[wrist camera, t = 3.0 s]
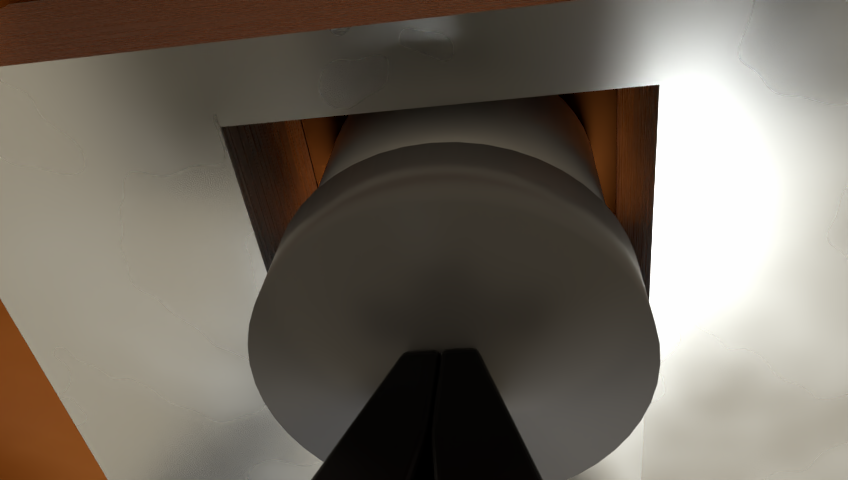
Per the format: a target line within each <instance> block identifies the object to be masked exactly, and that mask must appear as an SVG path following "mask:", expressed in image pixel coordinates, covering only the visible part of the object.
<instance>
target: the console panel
mask: <svg viewBox="0 0 848 480" xmlns="http://www.w3.org/2000/svg"><path fill="white" fill-rule="evenodd" d="M608 89H618V100H617V176H616V217H617V219H618V221H619V222H620V224H621V225H622V227H623V229H624V230H625V232H626V234H627V235H628V237H629V239H630V242H631V244H632V247H633V249H634V252H635V254H636V257H637V260H638V264H639V268H640V271H641V275H642V278H643V282H644V285H645V289H646V292H647V296H648V299H649V303H650V306H651V310H652V313H653V317H654V320H655V324H656V329H657V333H658V338H659V342H660V371H659V377H658V384H657V387H656V390H655V392H654V395H653V398H652V401H651V404H650V405H649V407H648V409H647V411H646V413H645V415H644V416H643V418H642V420H641V421H640V423H639V424H638V425H637V427H636V428H635V429H634V430H633V432H632V433H631V434H630V436H629V437H628V438H627V439H626V440H625V441H624V442H623V443H622V444H621V445H620V446H619V447H618V448H617V449H616V450H614V451H613V452H612V453H611V454H609V455H608V456H607V457H605V458H604V459H603V460H601V461H600V462H599V463H597V464H596V465H594V466H592V467H590V468H589V469H587V470H585V471H584V472H582V473H580V474H578V475H576V476H574V477H572V478H570V479H567V480H848V0H37V1H29V2H21V3H13V4H8V5H7V6H5V7H3V8H1V9H0V299H1V300H2V302H3V304H4V306H5V307H6V309H7V311H8V312H9V314H10V316H11V317H12V319H13V321H14V322H15V324H16V326H17V327H18V329H19V331H20V333H21V334H22V336H23V338H24V339H25V341H26V343H27V344H28V346H29V348H30V349H31V351H32V353H33V354H34V356H35V358H36V359H37V361H38V363H39V365H40V366H41V368H42V370H43V371H44V373H45V375H46V376H47V378H48V380H49V381H50V383H51V385H52V386H53V388H54V390H55V392H56V393H57V395H58V397H59V398H60V400H61V402H62V403H63V405H64V407H65V408H66V410H67V412H68V413H69V415H70V417H71V418H72V420H73V422H74V424H75V425H76V427H77V429H78V430H79V432H80V434H81V435H82V437H83V439H84V440H85V442H86V444H87V445H88V447H89V449H90V450H91V452H92V454H93V456H94V457H95V459H96V461H97V462H98V464H99V466H100V467H101V469H102V471H103V472H104V474H105V476H106V477H107V479H108V480H311V479H312V478H313V476H314V475H315V473H316V472H317V471H318V469H319V468H320V467H321V465H322V464H323V461H321V460H320V459H318V458H317V457H316V456H314V455H313V454H312V453H310V452H309V451H307V450H306V449H305V448H303V447H302V446H301V445H300V444H299V443H298V442H297V441H296V440H294V439H293V438H292V437H291V436H290V435H289V434H288V433H287V432H286V431H285V430H284V428H283V427H282V426H281V425H280V424H279V423H278V421H277V420H276V419H275V418H274V417H273V415H272V414H271V412H270V411H269V409H268V407H267V406H266V404H265V403H264V401H263V399H262V397H261V395H260V393H259V391H258V389H257V386H256V384H255V382H254V378H253V375H252V371H251V368H250V364H249V354H248V331H249V323H250V319H251V315H252V311H253V307H254V304H255V302H256V300H257V297H258V295H259V292H260V290H261V287H262V285H263V283H264V280H265V278H266V275H267V273H268V270H269V268H270V265H271V263H272V261H273V258H274V256H275V253H276V251H277V248H278V246H279V244H280V241H281V239H282V237H283V235H284V233H285V230H286V228H287V226H288V224H289V222H290V221H291V219H292V218H293V216H294V215H295V213H296V212H297V211H298V209H299V208H300V206H301V205H302V204H303V203H304V202H305V201H306V200H307V199H308V198H309V197H310V196H311V194H312V193H313V192H314V191H315V190H316V189H318V188H317V184H316V180H315V176H314V172H313V168H312V164H311V160H310V156H309V152H308V148H307V144H306V140H305V136H304V132H303V128H302V124H301V120H300V119H309V118H319V117H330V116H340V115H350V114H360V113H371V112H381V111H391V110H402V109H412V108H422V107H433V106H443V105H453V104H464V103H474V102H484V101H494V100H505V99H515V98H525V97H536V96H546V95H556V94H567V93H577V92H587V91H598V90H608Z"/></svg>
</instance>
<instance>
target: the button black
mask: <svg viewBox="0 0 848 480" xmlns="http://www.w3.org/2000/svg"><path fill="white" fill-rule="evenodd" d="M458 348H475V349H477V350H478V351H479V352H480V354H481V356H482V358H483V360H484V362H485V364H486V366H487V368H488V370H489V372H490V374H491V376H492V378H493V380H494V382H495V384H496V386H497V388H498V390H499V392H500V394H501V396H502V398H503V400H504V402H505V404H506V406H507V408H508V410H509V412H510V414H511V416H512V418H513V420H514V422H515V424H516V426H517V429H518V431H519V433H520V435H521V437H522V439H523V441H524V443H525V445H526V447H527V449H528V451H529V453H530V455H531V457H532V459H533V461H534V463H535V465H536V467H537V469H538V471H539V473H540V475H541V477H542V479H543V480H567V479H570V478H572V477H574V476H576V475H578V474H580V473H582V472H584V471H585V470H587V469H589V468H590V467H592V466H594V465H596V464H597V463H599V462H600V461H601V460H603V459H604V458H605V457H607V456H608V455H609V454H611V453H612V452H613V451H614V450H616V449H617V448H618V447H619V446H620V445H621V444H622V443H623V442H624V441H625V440H626V439H627V438H628V437H629V436H630V434H631V433H632V432H633V430H634V429H635V428H636V427H637V425H638V424H639V423H640V421H641V420H642V418H643V416H644V415H645V413H646V411H647V409H648V407H649V405H650V404H651V401H652V398H653V395H654V392H655V390H656V387H657V384H658V377H659V371H660V342H659V338H658V333H657V329H656V324H655V320H654V317H653V313H652V310H651V306H650V303H649V299H648V296H647V292H646V289H645V285H644V282H643V278H642V275H641V271H640V268H639V264H638V260H637V257H636V254H635V252H634V249H633V247H632V244H631V242H630V239H629V237H628V235H627V234H626V232H625V230H624V229H623V227H622V225H621V224H620V222H619V221H618V219H617V217H616V216H615V215H614V214H613V213H612V212H611V210H610V209H609V208H608V207H607V206H606V205H605V201H604V197H603V193H602V189H601V185H600V181H599V177H598V173H597V169H596V165H595V161H594V157H593V153H592V149H591V145H590V142H589V140H588V137H587V135H586V132H585V130H584V128H583V126H582V125H581V123H580V121H579V120H578V118H577V116H576V115H575V113H574V112H573V111H572V110H571V108H570V107H569V106H568V105H567V104H566V102H565V101H564V100H563V99H562V98H561V97H559V96H558V95H557V94H556V95H546V96H536V97H525V98H515V99H505V100H494V101H484V102H474V103H464V104H453V105H443V106H433V107H422V108H412V109H402V110H391V111H381V112H371V113H360V114H350V115H349V116H348V117H347V119H346V120H345V122H344V124H343V126H342V128H341V130H340V133H339V135H338V137H337V140H336V142H335V145H334V148H333V150H332V153H331V155H330V158H329V161H328V163H327V166H326V169H325V171H324V174H323V177H322V179H321V182H320V185H319V187H318V189H316V190H315V191H314V192H313V193H312V194H311V196H310V197H309V198H308V199H307V200H306V201H305V202H304V203H303V204H302V205H301V206H300V208H299V209H298V211H297V212H296V213H295V215H294V216H293V218H292V219H291V221H290V222H289V224H288V226H287V228H286V230H285V233H284V235H283V237H282V239H281V241H280V244H279V246H278V248H277V251H276V253H275V256H274V258H273V261H272V263H271V265H270V268H269V270H268V273H267V275H266V278H265V280H264V283H263V285H262V287H261V290H260V292H259V295H258V297H257V300H256V302H255V304H254V307H253V311H252V315H251V319H250V323H249V331H248V354H249V364H250V368H251V371H252V375H253V378H254V382H255V384H256V386H257V389H258V391H259V393H260V395H261V397H262V399H263V401H264V403H265V404H266V406H267V407H268V409H269V411H270V412H271V414H272V415H273V417H274V418H275V419H276V420H277V421H278V423H279V424H280V425H281V426H282V427H283V428H284V430H285V431H286V432H287V433H288V434H289V435H290V436H291V437H292V438H293V439H294V440H296V441H297V442H298V443H299V444H300V445H301V446H302V447H303V448H305V449H306V450H307V451H309V452H310V453H312V454H313V455H314V456H316V457H317V458H318V459H320V460H321V461H323V462H324V461H325V460H326V458H327V457H328V455H329V454H330V453H331V451H332V450H333V449H334V447H335V446H336V444H337V443H338V442H339V440H340V439H341V438H342V436H343V435H344V433H345V432H346V431H347V429H348V428H349V427H350V425H351V424H352V422H353V421H354V420H355V418H356V417H357V415H358V414H359V413H360V411H361V410H362V409H363V407H364V406H365V404H366V403H367V402H368V400H369V399H370V398H371V396H372V395H373V393H374V392H375V391H376V389H377V388H378V387H379V385H380V384H381V382H382V381H383V380H384V378H385V377H386V375H387V374H388V373H389V371H390V370H391V369H392V367H393V366H394V364H395V363H396V362H397V360H398V359H399V358H400V356H401V355H402V354H403V353H405V352H407V351H419V350H437V351H438V352H439V353H440V354H441V353H442V352H443V351H444V350H445V349H458Z"/></svg>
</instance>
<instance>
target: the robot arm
mask: <svg viewBox="0 0 848 480" xmlns="http://www.w3.org/2000/svg"><path fill="white" fill-rule="evenodd" d="M311 480H543V479H542V477H541V475H540V473H539V471H538V469H537V467H536V465H535V463H534V461H533V459H532V457H531V455H530V453H529V451H528V449H527V447H526V445H525V443H524V441H523V439H522V437H521V435H520V433H519V431H518V429H517V426H516V424H515V422H514V420H513V418H512V416H511V414H510V412H509V410H508V408H507V406H506V404H505V402H504V400H503V398H502V396H501V394H500V392H499V390H498V388H497V386H496V384H495V382H494V380H493V378H492V376H491V374H490V372H489V370H488V368H487V366H486V364H485V362H484V360H483V358H482V356H481V354H480V352H479V351H478V350H477V349H475V348H458V349H445V350H444V351H443V352H442V353H441V354H440V353H439V352H438V351H437V350H419V351H407V352H405V353H403V354H402V355H401V356H400V358H399V359H398V360H397V362H396V363H395V364H394V366H393V367H392V369H391V370H390V371H389V373H388V374H387V375H386V377H385V378H384V380H383V381H382V382H381V384H380V385H379V387H378V388H377V389H376V391H375V392H374V393H373V395H372V396H371V398H370V399H369V400H368V402H367V403H366V404H365V406H364V407H363V409H362V410H361V411H360V413H359V414H358V415H357V417H356V418H355V420H354V421H353V422H352V424H351V425H350V427H349V428H348V429H347V431H346V432H345V433H344V435H343V436H342V438H341V439H340V440H339V442H338V443H337V444H336V446H335V447H334V449H333V450H332V451H331V453H330V454H329V455H328V457H327V458H326V460H325V461H324V462H323V464H322V465H321V467H320V468H319V469H318V471H317V472H316V473H315V475H314V476H313V478H312V479H311Z"/></svg>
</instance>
